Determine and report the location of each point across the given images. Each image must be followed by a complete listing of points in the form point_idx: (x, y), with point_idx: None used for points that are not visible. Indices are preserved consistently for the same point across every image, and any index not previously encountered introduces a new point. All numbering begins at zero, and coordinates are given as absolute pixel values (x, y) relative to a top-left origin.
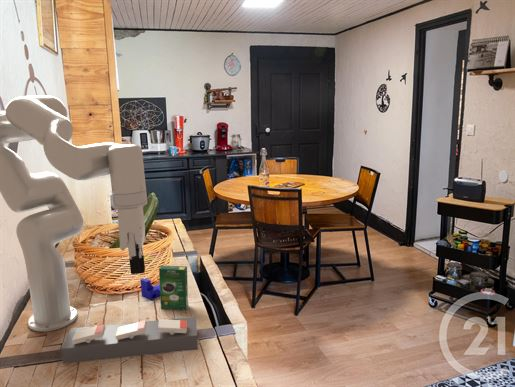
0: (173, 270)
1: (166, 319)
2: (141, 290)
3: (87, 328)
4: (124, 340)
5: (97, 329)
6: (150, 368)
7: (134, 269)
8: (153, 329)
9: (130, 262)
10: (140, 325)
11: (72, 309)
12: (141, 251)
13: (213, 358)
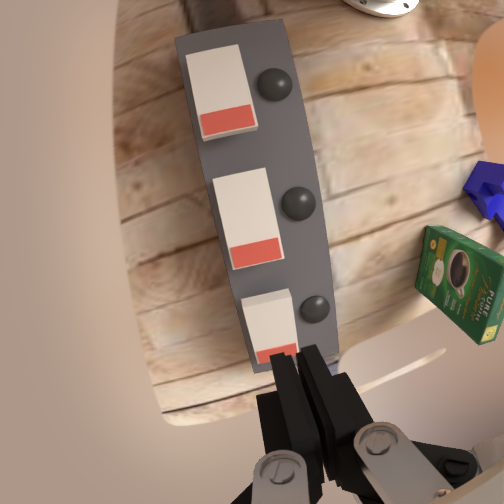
0: (488, 310)
1: (293, 313)
2: (489, 162)
3: (243, 75)
4: None
5: (224, 115)
6: (173, 271)
7: (258, 405)
8: (281, 266)
9: (285, 418)
10: (252, 251)
11: (408, 4)
12: (358, 502)
13: (221, 381)
